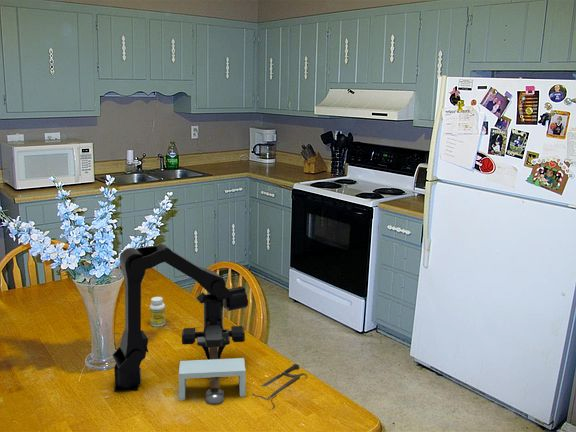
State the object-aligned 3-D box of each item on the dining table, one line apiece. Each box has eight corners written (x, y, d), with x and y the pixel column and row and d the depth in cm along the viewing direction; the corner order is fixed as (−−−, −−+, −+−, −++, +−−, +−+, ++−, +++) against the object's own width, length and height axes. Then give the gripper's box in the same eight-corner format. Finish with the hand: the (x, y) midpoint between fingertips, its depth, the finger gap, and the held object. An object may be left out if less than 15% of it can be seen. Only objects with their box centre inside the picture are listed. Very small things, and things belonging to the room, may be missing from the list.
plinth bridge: (179, 400, 149) (178, 373, 147) (180, 386, 156) (180, 360, 154) (245, 396, 152) (245, 370, 150) (243, 383, 158) (243, 358, 156)
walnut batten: (210, 394, 152) (209, 378, 151) (209, 358, 172) (209, 343, 170) (219, 394, 152) (218, 378, 151) (217, 357, 172) (217, 343, 171)
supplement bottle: (163, 319, 198) (162, 294, 196) (167, 325, 194) (166, 300, 191) (148, 322, 196) (147, 297, 194) (152, 328, 191) (151, 302, 189)
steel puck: (205, 405, 147) (205, 399, 147) (205, 395, 152) (205, 389, 151) (224, 404, 148) (224, 397, 147) (223, 394, 153) (223, 387, 152)
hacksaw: (295, 366, 169) (295, 361, 169) (322, 377, 163) (322, 373, 163) (240, 398, 151) (240, 394, 151) (268, 413, 145) (268, 408, 145)
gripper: (180, 326, 155) (181, 375, 159) (246, 323, 158) (245, 372, 161) (182, 310, 165) (183, 356, 169) (243, 308, 168) (243, 353, 172)
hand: (213, 360), depth 168 cm, fingers closed on walnut batten, 2 cm apart
